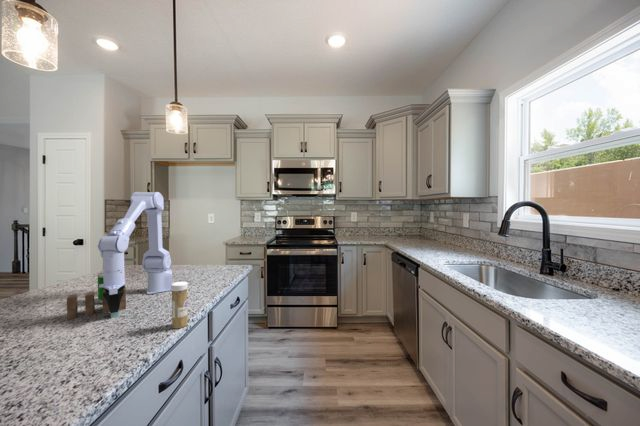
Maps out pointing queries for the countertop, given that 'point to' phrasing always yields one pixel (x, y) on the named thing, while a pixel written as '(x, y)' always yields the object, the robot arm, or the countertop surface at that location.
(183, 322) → the sprinkles bottle
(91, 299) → the domino
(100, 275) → the soda can
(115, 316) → the loose domino
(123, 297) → the domino
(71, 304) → the domino
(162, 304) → the countertop surface
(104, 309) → the domino
